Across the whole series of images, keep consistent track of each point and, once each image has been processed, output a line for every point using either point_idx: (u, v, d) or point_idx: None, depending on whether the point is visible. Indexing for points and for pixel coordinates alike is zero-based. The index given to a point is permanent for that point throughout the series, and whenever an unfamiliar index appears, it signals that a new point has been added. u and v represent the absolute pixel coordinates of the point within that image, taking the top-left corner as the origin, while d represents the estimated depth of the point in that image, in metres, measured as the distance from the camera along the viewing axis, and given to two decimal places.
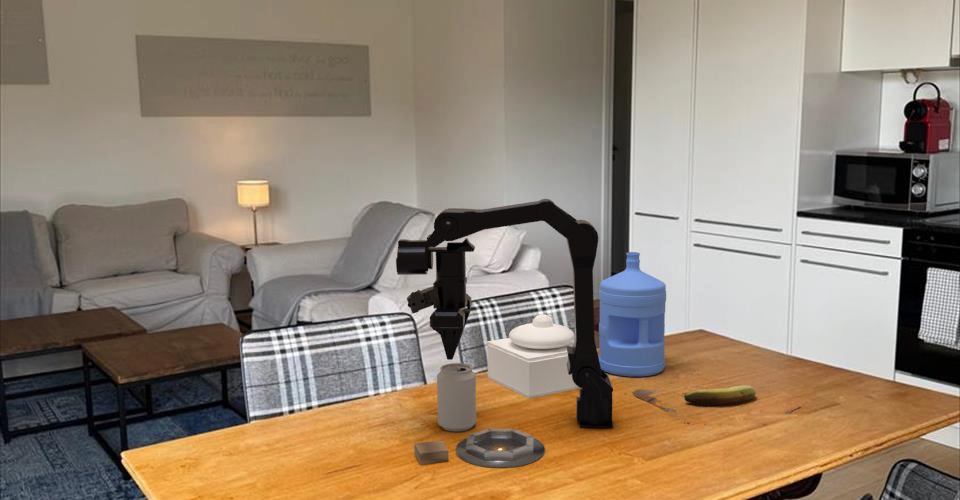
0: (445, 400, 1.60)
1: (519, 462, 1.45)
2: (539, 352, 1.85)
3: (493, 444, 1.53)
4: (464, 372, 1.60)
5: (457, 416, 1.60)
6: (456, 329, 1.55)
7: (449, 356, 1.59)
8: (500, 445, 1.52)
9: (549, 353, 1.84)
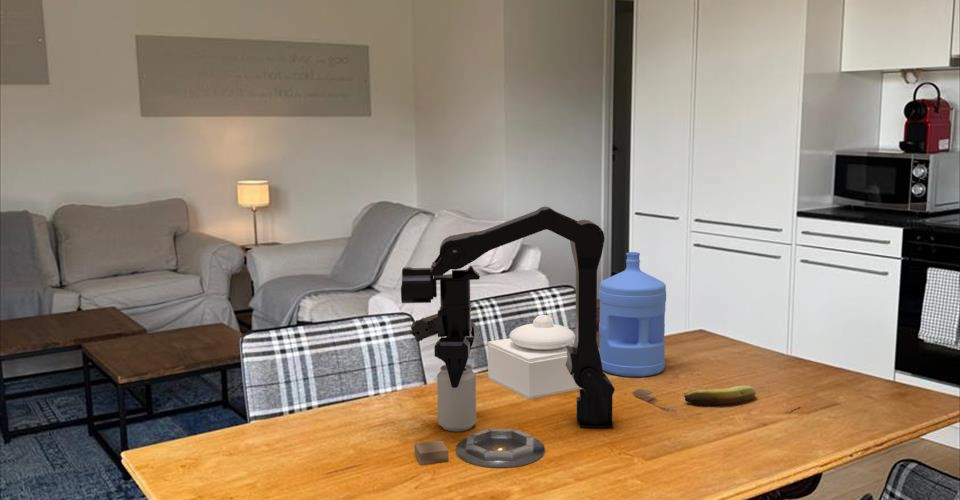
0: (445, 400, 1.60)
1: (519, 462, 1.45)
2: (540, 352, 1.84)
3: (493, 444, 1.53)
4: (464, 372, 1.60)
5: (457, 416, 1.60)
6: (462, 357, 1.54)
7: (454, 384, 1.59)
8: (500, 445, 1.52)
9: (549, 354, 1.83)
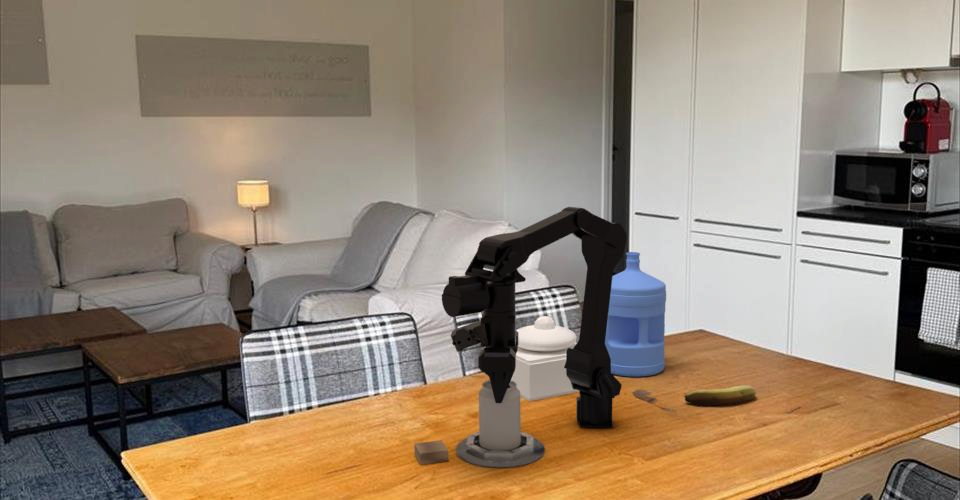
0: (488, 420, 1.48)
1: (519, 462, 1.45)
2: (541, 354, 1.83)
3: None
4: (508, 390, 1.47)
5: (500, 437, 1.47)
6: (508, 370, 1.41)
7: (498, 399, 1.45)
8: None
9: (550, 355, 1.82)
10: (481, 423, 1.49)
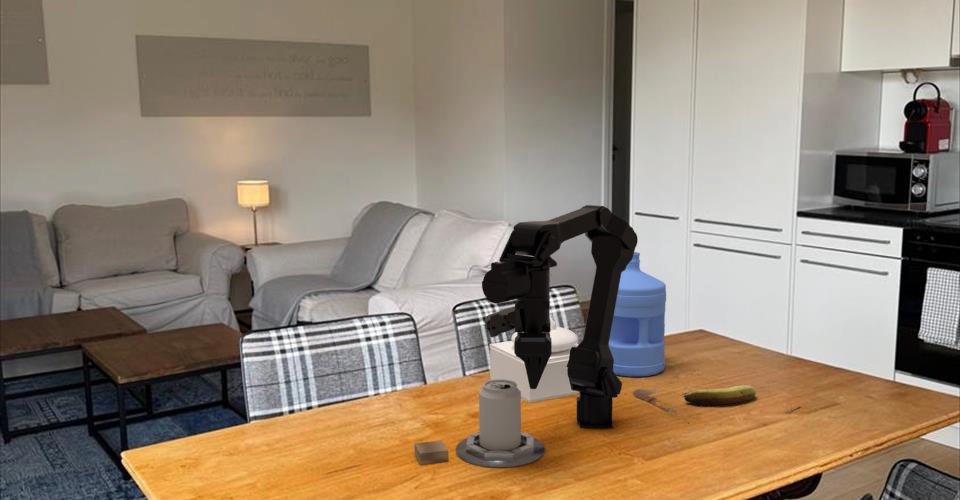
0: (488, 420, 1.48)
1: (519, 462, 1.45)
2: None
3: None
4: (509, 390, 1.47)
5: (501, 437, 1.47)
6: (543, 356, 1.40)
7: (533, 385, 1.44)
8: None
9: (551, 357, 1.81)
10: (481, 423, 1.49)
